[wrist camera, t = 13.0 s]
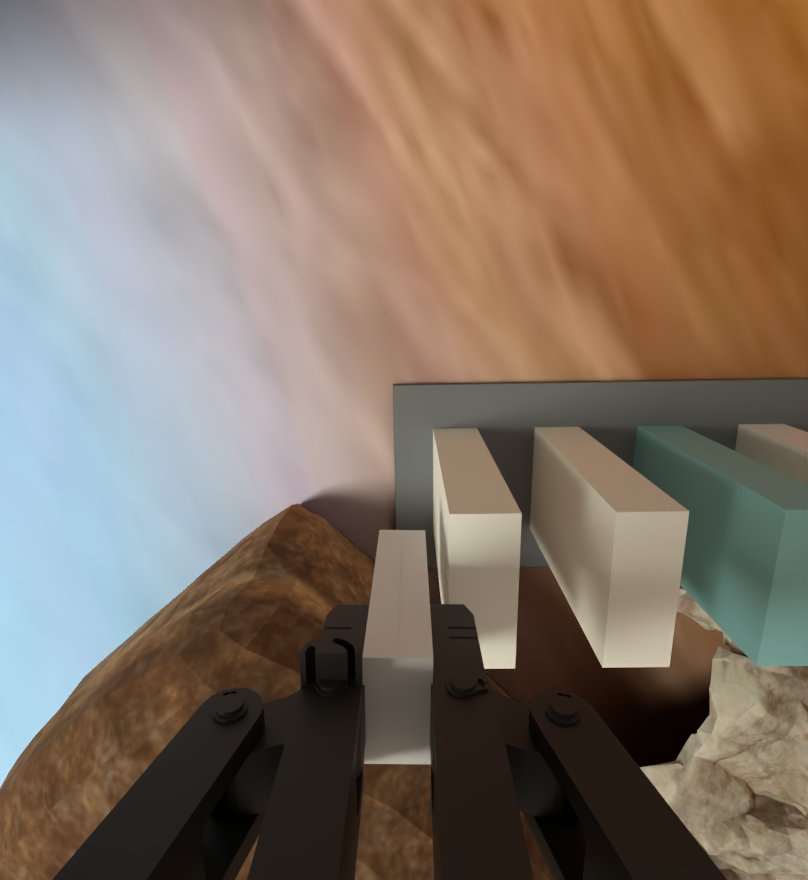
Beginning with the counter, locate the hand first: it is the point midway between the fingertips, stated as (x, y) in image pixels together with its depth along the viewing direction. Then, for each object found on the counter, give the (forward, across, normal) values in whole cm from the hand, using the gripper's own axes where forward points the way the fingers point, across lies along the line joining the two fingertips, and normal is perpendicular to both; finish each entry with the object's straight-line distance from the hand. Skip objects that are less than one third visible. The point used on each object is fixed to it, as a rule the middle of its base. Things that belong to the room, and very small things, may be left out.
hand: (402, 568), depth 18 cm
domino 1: (+8, +2, 0) cm, 8 cm away
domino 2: (+8, +7, 0) cm, 10 cm away
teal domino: (+8, +12, +1) cm, 14 cm away
